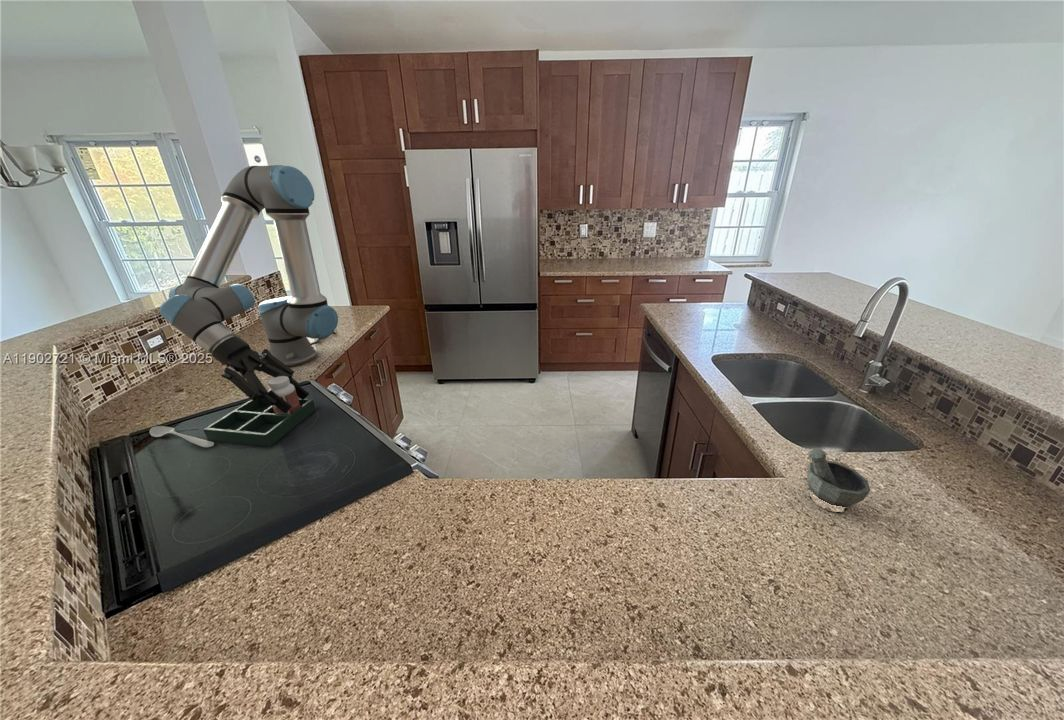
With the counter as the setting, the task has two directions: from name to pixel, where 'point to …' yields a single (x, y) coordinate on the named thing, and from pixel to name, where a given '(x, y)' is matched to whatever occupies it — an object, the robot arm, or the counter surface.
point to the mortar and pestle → (835, 481)
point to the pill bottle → (284, 393)
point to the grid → (257, 423)
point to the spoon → (163, 430)
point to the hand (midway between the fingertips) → (297, 403)
